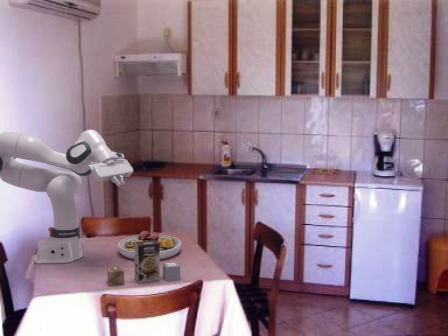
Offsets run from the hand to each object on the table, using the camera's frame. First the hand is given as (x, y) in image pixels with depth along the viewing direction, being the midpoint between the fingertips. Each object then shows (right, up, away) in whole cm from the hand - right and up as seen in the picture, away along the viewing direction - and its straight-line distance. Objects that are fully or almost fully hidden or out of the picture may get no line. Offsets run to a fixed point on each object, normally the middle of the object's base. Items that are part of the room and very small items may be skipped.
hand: (121, 185), depth 249 cm
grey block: (+22, -39, -5) cm, 45 cm away
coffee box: (+12, -39, -7) cm, 42 cm away
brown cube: (0, -40, -11) cm, 41 cm away
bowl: (+8, -34, +30) cm, 46 cm away
